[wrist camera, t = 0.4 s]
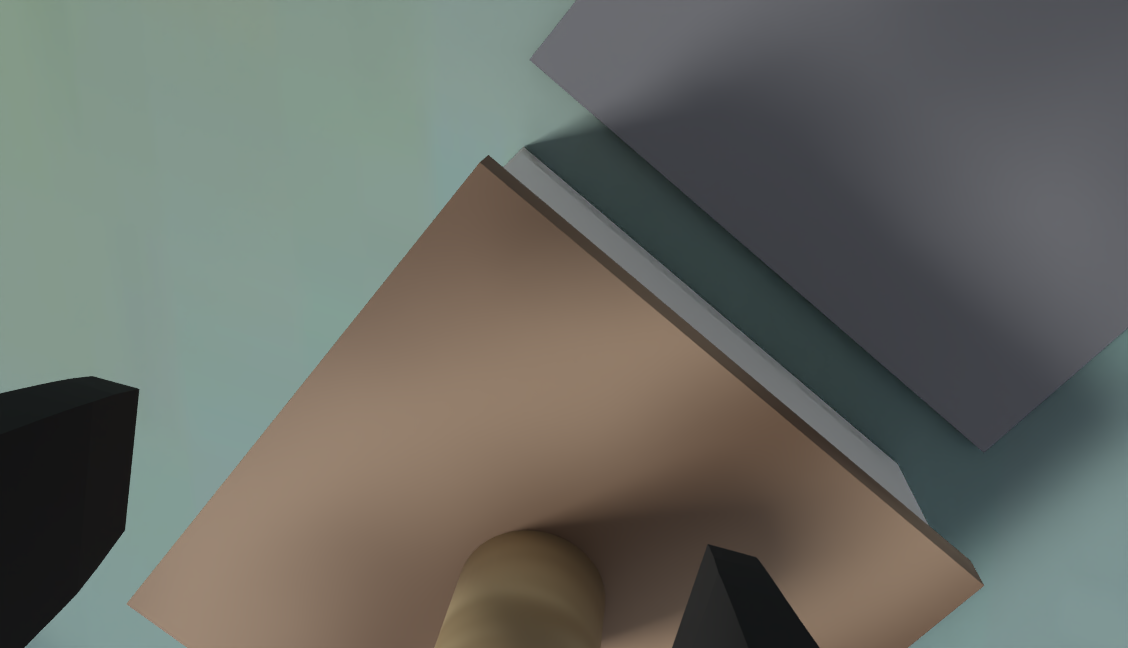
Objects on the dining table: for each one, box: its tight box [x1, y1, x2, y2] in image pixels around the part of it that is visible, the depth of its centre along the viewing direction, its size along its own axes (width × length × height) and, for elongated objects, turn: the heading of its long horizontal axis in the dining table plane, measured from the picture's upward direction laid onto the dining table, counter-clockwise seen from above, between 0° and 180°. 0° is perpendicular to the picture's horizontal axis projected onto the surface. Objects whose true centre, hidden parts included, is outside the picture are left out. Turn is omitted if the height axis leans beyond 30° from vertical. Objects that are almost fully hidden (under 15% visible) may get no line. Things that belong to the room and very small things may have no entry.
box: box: [503, 147, 928, 525], centre depth 21 cm, size 11×11×4 cm
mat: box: [530, 0, 1128, 452], centre depth 18 cm, size 13×12×1 cm
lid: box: [127, 155, 984, 648], centre depth 17 cm, size 12×12×5 cm
